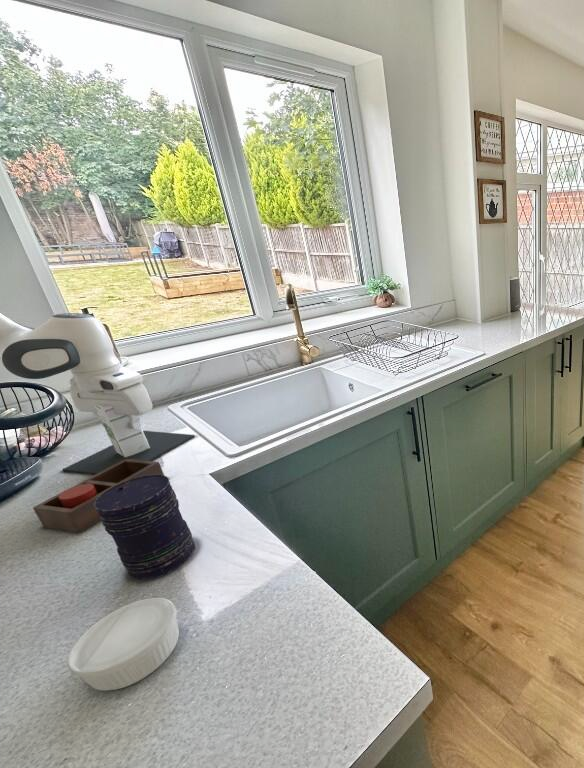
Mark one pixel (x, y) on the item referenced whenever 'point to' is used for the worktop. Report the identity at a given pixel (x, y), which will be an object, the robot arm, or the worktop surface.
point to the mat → (109, 457)
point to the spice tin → (77, 495)
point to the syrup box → (122, 432)
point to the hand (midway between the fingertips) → (122, 427)
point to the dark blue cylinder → (146, 526)
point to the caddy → (86, 513)
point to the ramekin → (126, 644)
